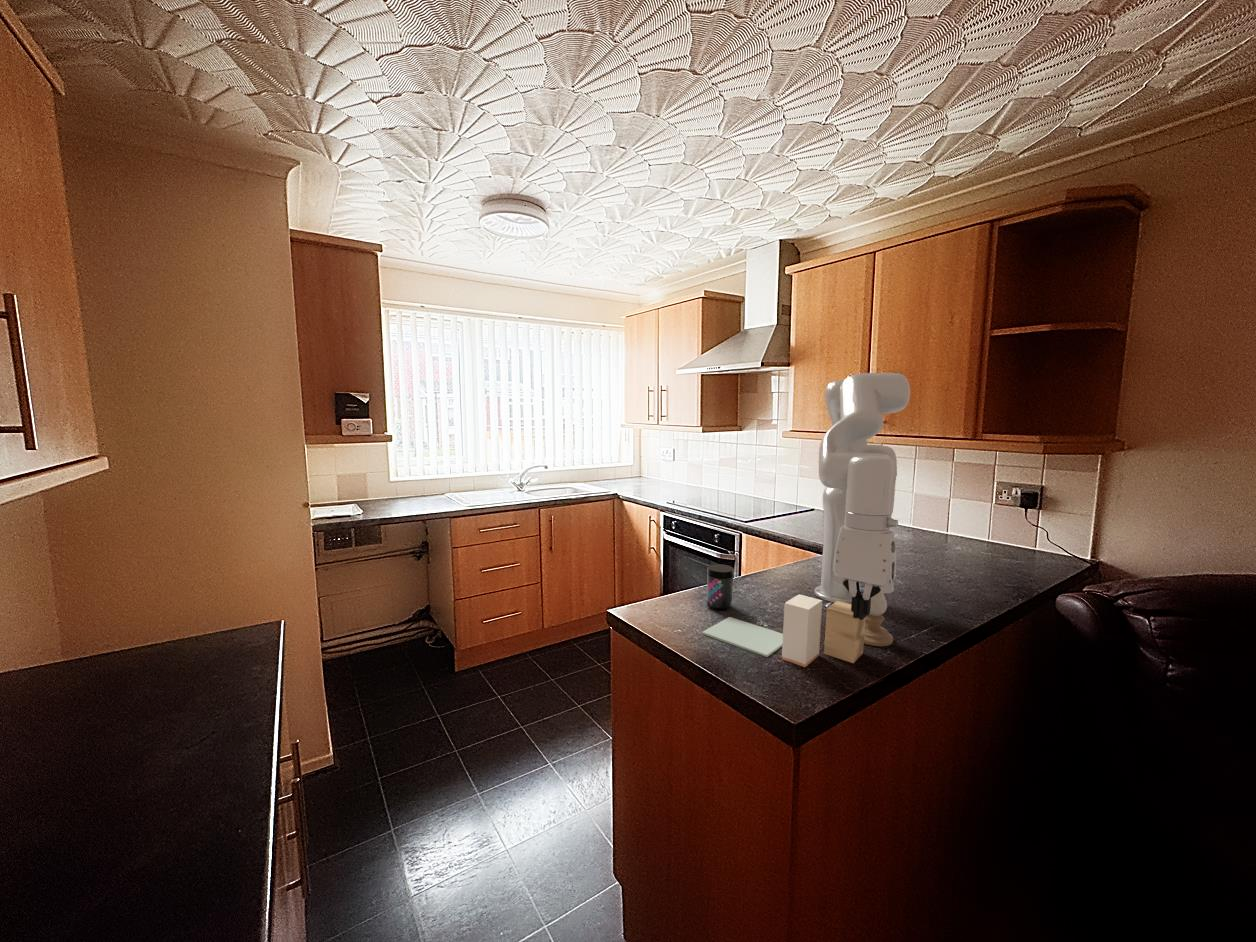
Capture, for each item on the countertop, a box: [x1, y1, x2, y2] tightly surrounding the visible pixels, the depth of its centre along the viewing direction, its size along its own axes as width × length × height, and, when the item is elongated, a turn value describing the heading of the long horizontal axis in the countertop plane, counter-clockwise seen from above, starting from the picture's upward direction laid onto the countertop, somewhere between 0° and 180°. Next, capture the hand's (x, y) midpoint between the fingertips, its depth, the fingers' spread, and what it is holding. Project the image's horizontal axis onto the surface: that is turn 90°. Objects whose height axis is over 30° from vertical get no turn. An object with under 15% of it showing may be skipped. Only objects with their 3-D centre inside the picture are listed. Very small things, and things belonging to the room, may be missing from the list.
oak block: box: [823, 601, 866, 664], centre depth 106 cm, size 6×6×10 cm
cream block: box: [781, 593, 823, 668], centre depth 104 cm, size 7×5×12 cm
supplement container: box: [706, 563, 735, 612], centre depth 131 cm, size 7×7×10 cm
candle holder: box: [864, 554, 897, 647], centre depth 113 cm, size 9×9×20 cm
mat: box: [701, 616, 783, 658], centre depth 114 cm, size 12×16×1 cm
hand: (860, 616), depth 96 cm, fingers closed
